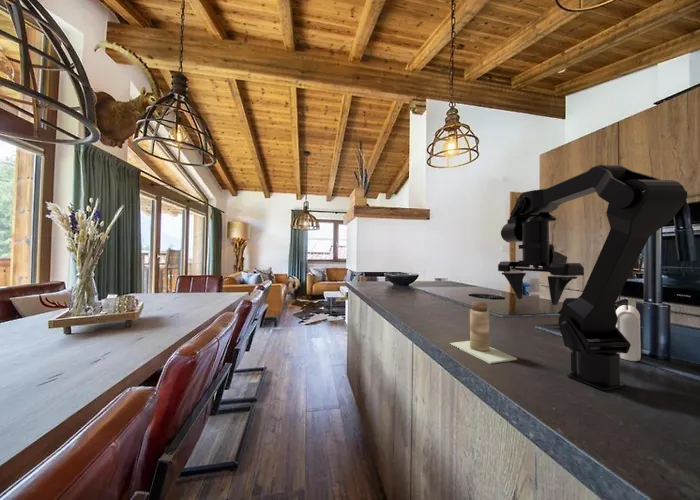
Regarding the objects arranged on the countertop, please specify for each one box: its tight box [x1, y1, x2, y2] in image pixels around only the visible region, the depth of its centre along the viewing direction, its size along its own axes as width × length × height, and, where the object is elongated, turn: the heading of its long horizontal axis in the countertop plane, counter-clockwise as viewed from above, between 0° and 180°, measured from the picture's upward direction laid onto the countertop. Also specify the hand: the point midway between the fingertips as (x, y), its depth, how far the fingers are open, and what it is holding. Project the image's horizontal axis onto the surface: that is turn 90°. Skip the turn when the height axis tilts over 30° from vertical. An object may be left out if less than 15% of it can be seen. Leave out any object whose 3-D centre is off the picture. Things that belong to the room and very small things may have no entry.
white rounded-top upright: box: [615, 304, 642, 362], centre depth 67 cm, size 10×4×12 cm, turn 134°
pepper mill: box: [469, 301, 491, 352], centre depth 70 cm, size 5×5×12 cm
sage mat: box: [449, 340, 518, 365], centre depth 69 cm, size 14×8×1 cm, turn 17°
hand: (536, 301), depth 68 cm, fingers open, 9 cm apart
